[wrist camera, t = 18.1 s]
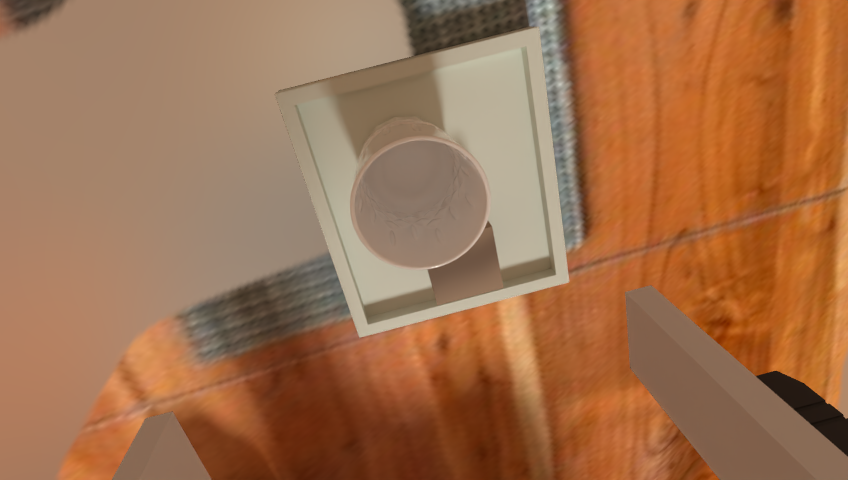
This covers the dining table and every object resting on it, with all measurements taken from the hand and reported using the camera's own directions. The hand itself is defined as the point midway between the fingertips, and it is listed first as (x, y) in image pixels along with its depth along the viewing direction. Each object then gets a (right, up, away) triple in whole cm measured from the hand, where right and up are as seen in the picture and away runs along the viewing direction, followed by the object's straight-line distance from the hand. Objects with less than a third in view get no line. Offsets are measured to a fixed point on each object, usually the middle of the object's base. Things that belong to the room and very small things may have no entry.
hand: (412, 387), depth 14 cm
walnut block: (+3, +4, +25) cm, 26 cm away
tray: (+1, +8, +24) cm, 26 cm away
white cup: (-1, +10, +22) cm, 25 cm away
